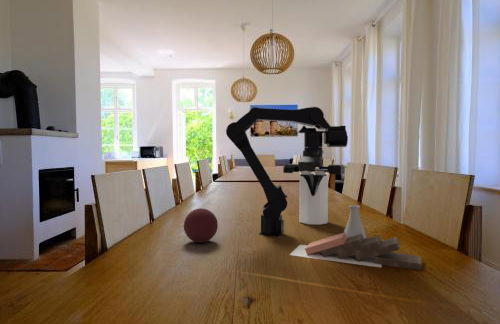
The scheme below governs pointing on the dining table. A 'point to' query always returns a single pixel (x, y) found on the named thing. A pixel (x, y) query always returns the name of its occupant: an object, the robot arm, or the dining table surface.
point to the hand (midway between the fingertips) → (313, 195)
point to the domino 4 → (380, 249)
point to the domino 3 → (362, 247)
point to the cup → (313, 203)
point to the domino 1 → (326, 243)
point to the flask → (354, 223)
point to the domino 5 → (399, 260)
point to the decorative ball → (200, 225)
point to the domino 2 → (345, 245)
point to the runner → (333, 257)
